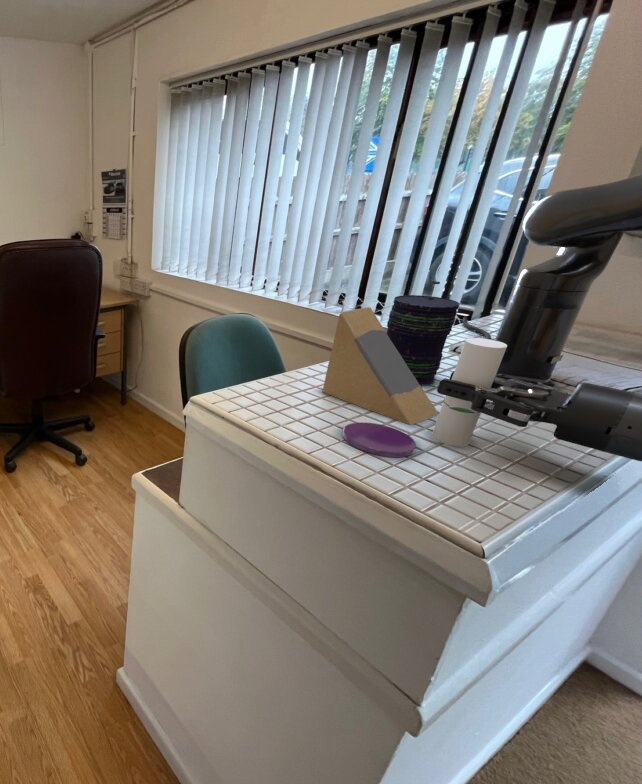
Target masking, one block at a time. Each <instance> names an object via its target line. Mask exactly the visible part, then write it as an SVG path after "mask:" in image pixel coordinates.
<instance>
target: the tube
mask: <svg viewBox="0 0 642 784" xmlns="http://www.w3.org/2000/svg"><path fill="white" fill-rule="evenodd" d="M506 348H507V345H506V344H505V343H502V342H499V341H495V339H491V340H490V339H486V338H482V337H469V338H466V339H465V340H464V343H463V346H462V349H461V352H460V354H459V357H458V360H457V362H456V366H455V368H454V370H453V371H454V374H453V377H452V379H451V380H455V381H459V382H464V383H468V384H472V385H476V386H482V387H487V388H491V386H492V383H493V381H494V378H495V376H496V373H497V371H498V368H499V366H500V363H501V360H502V358H503V355H504V353H505V350H506ZM471 406H472V405H471V404H469V401H466V400H462V399H458V398H454V397H450V396H446V395H444V400H443V402H442V405H441V408H440V410H439V412H438V413H439V414H438V415H437V419H436V422H435V424H434V427H433V431H432V433H431V437H432V438H433V439H434V440H435V441H437V442H440V443H441V444H445V445H447V446H453V447H461V448H462V447H467V446H468V445H469V444H470V441H471V438H472V436H473V433H474V431H475V428H476V426H477V423H478V421H479V418H480V416H481V414H482V413H481V412H478V411H475V410H472V409H471Z"/></svg>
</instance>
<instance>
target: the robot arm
mask: <svg viewBox="0 0 642 784" xmlns="http://www.w3.org/2000/svg"><path fill="white" fill-rule="evenodd" d="M522 230H523V234H524V236H525V238H526V239H527V241H529V242H531V243H532V244H534V245H536V246H539V247H544V248H559V250H558V251H557V253H556V254H555V255H553V256H552V257H550V258H549V259H546V260H544V261H542V262H540V263H537V264H534V265H530V266H528V267H526V268H524V269H523V270H522V271H521V272H520V274H519V276H518V278H517V282H516V284H515V287H514V289H513V292H512V295H511V297H510V300H509V302H508V306H507V308H506V310H505V312H504V316H503V318H502V322H501V324H500V326H499V329H498V331H497V333H496V337H495V339H494V340H495V341H499V342H502V343H505V344H506V345H507V348H506V350H505V353H504V355H503V358H502V360H501V363H500V366H499V368H498V371H497V373H496V376H495V378H494V381H493V383H492V386H491V388H487V387H482V386H476V385H472V384H468V383H464V382H459V381H455V380H451V379H452V377H453V374H454V371H455V370H453V371H452V372H451V374H450V376H449V378H446V377H445V378H442V379H441V380H440V381H439V383H438V385H437V389H436V392H437V393H438V394H439V395H441V396H450V397H454V398H458V399H462V400H466V401H469V404H471V405H472V406H471V409H472V410H475V411H478V412H481V413H480V414H484V415H486V416H489V417H491V418H493V419H497V420H500V421H502V422H506V423H508V424H511V425H514V426H516V427H519V428H527V426H528V424H529V422H533V423H535V422H537V423H545V424H550V425H551V424H552V425H555V426H556V427H555V429H554V432H553V436H554V438H555V439H557V440H560V441H563V442H567V443H571V444H573V445H574V444H575V445H578V446H582V447H586V448H588V449H593V450H596V451H600V452H603V453H607V454H611V455H614V456H617V457H622V458H625V459H629V460H632V461H637V462H642V393H639V392H635V391H630V390H624V389H620V388H614V387H609V386H605V385H600V384H596V383H595V384H594V383H590V382H580V383H579V384H577V386H576V387H575V389H574V390H573V392H572V394H569V393H566V392H563V391H560V390H557V389H554V388H555V386H556V382H554V381H552V380H551V379H552V374H553V372H554V370H555V368H556V366H557V363H558V362H561V361H562V359H563V357H564V354H562V352H563V350H564V348H565V346H566V344H567V341H568V339H569V336H570V335H571V332H572V330H573V328H574V325H575V324H576V321H577V319H578V317H579V314H580V312H581V309H582V307H583V305H584V303H585V301H586V298H587V297H588V294H589V292H590V289H591V287H592V286H593V283H594V282H595V281H596V280H597V279H598V278H599V277H600V276H601V275H602V274H603V273H604V272H605V270H606V268H607V267H608V265H609V263H610V261H611V259H612V257H613V255H614V253H615V252H616V250H617V248H618V246H619V245H620V242H621V241H622V238H623V237H624V235H625V233H626V232H642V173H639V174H636V175H633V176H630V177H627V178H622V179H619V180H616V181H612V182H606V183H602V184H596V185H590V186H586V187H584V186H583V187H578V188H571V189H563V190H558V191H555V192H553V193H551V194H548V195H547V196H544V197H543V198H542V199H540V200H539V201H538V202H536V203H535V204H534V206H532V207H531V208H530V209H529V211H528V212H527V214H526V215H525V217H524V220H523V223H522ZM460 322H461V323H462V325H463V327H465V328H467V329H469V330H471V331H474V332H477V333H478V334H481V335H483V336H485V339H490V340H492V336H491V335H492V334H490V333H489V332H488V331H486V330H484V329H482V328H479V327H476V326H474V325H472V324H469V323H468V317H467V316H464V317H463V318H462V319H461V320H460Z"/></svg>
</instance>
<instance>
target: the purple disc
mask: <svg viewBox="0 0 642 784" xmlns="http://www.w3.org/2000/svg"><path fill="white" fill-rule="evenodd" d="M342 438H343V439H344V441H346V442H347V443H348V444H349V445H351V446H352V447H355V448H356V449H358V450H360V451H363V452H366V453H369V454H371V455H372V454H373V455H376V456H381V457H388V458H405V457H409V456H411V455H412V454H414V453H415V451H416V447H417V442H416V441H415V440H414V439H413V438H412V436H410V435H409V434H407V433H406V432H404V431H401V430H399V429H397V428H394V427H391V426H388V425H384V424H379V423H375V422H374V423H373V422H352V423H349V424H347V425H345V426H344V428H343V430H342Z"/></svg>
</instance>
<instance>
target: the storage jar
mask: <svg viewBox="0 0 642 784" xmlns="http://www.w3.org/2000/svg"><path fill="white" fill-rule="evenodd" d="M431 284H433V285H440V284H441V282H440V281H437V280H435V281H434V280H433V281H431ZM459 307H460V302H458V301H456V300H453V299H450V298H444V297H438V296H431V295H419V294H416V295H415V294H407V295H397V296H395V297H394V298H393V304H392V306H391V309H390V311H389V313H388V320H387V322H386V327H387V329H386V331H385V332H386V333H387V335H388V337H389V338H390V340H391V341H392V343H393V344H394V346H395V347H396V349H397V351H398V352H399V354H400V355H401V357H402V358H403V360H404V361H405V363H406V365H407V366H408V368H409V369H410V371H411V372H412V374H413V375H414V377H415V378H416V380H417V381H418V383H419V384H420V386H428V385H432V384H434V382H435V376H436V375H437V373H438V371H439V369H440V367H441V361H442V358H443V351H444V347H445V344H446V341H447V338H448V336H449V335H450V334H451V332H452V331H453V330H452V328H453V326H454V324H455V321H456V316H457V313H458V311H457V310H459Z"/></svg>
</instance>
